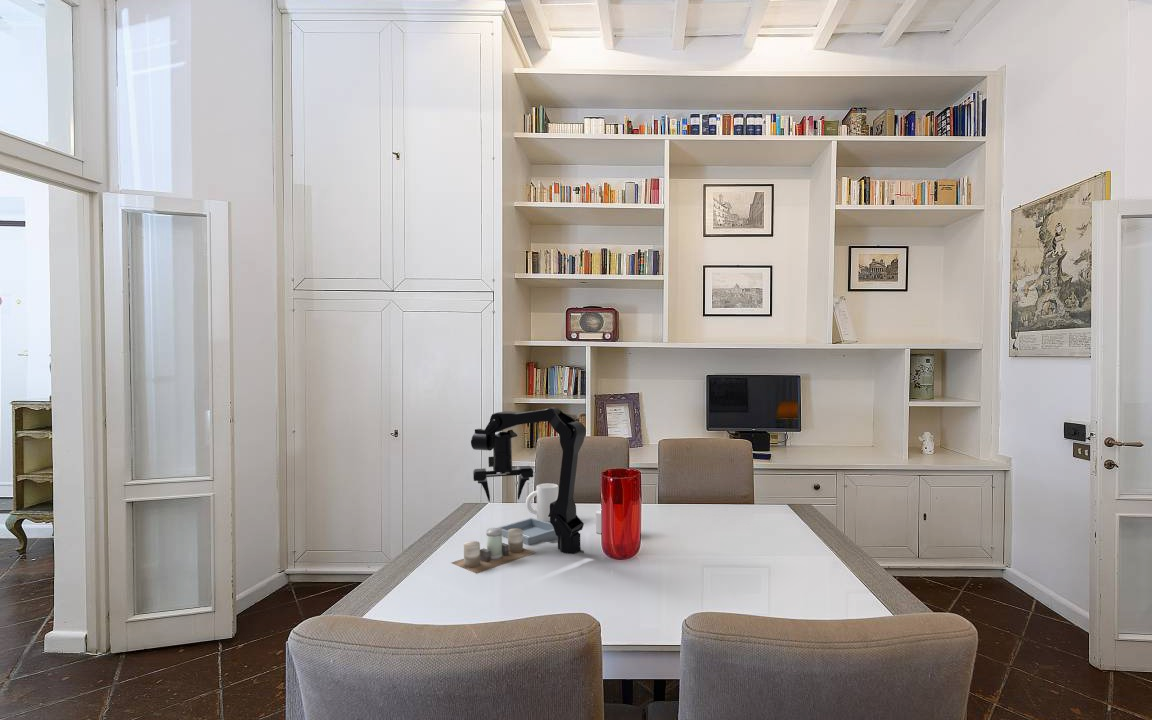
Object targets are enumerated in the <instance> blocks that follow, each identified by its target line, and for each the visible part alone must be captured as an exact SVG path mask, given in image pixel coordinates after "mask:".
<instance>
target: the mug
mask: <svg viewBox="0 0 1152 720" xmlns="http://www.w3.org/2000/svg"><path fill="white" fill-rule="evenodd" d="M558 491H559V484H556V483H552V482H551V483H547V482H546V483H539V484H537V485H536V490H534V491H532V492H531V493H529V495H528V496H527V497H526V500H525V506H526V509H527V510H528V511H529V512H530V513H531V514H533V515H535V516H536V519H538V520H541V521H545V522H549V523H550V517H548V515H549V513H550V503H552V502H554V501H556V500H557V498H558ZM535 497H536V509H535V508H534V507H533V506H532V500H533V498H535Z"/></svg>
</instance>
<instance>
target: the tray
mask: <svg viewBox="0 0 1152 720" xmlns="http://www.w3.org/2000/svg"><path fill="white" fill-rule="evenodd" d="M497 528H501V529H502V538H506V539H508V530H510V529H514V528H518V529H522V530H523V545H527V546H529V545H532V544H535V543H538V542H541V541H544V542H550V541H553V540H555V539H558V536H556V533H555V530H554V527H553V526H552V524H551V523H550V522H545V521H541V520H538V519H537V518H533V517H530V518H526V519H522V520H519V521H515V522H511V523H509V524H506V525H502V526H501V525H500V526H498V527H497Z"/></svg>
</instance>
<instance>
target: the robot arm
mask: <svg viewBox="0 0 1152 720" xmlns="http://www.w3.org/2000/svg"><path fill="white" fill-rule="evenodd" d="M542 422H547V423H549V424H550V426H551V428H552V429H553V430H554V432H556V433H557V434H558V435H559V444H560V447H561V450H562V454H561V455H562V457H561V465H560V475H559V482H558V498H557V500H556V501H554V502H552V503H550V513H549V515H548V517H550V522H549V523H551V524H552V526H553V527H554V530H555V533H556V536H558V538H557V549H558V550H559V551H560V552H561V553H563V554H568V555H569V554H572V555H574V554H578V553H583V554H585V550H582V549H581V548H582V547H581V533H580V532H581V531H582V530H583V528H584V524H585V523H584V522H583V521H582V520H581V519H580V517H579V516H578V515H577V506H576V502H575V500H574V495H575V494H574V493H575V486H576V485H575V484H576V476H577V466H578V459H579V458H578V457H579V452H580V450H581V447H582V446H583V443H584V440H585V437H586V434H587V429H586V426H585V425H584V423H583V422H581V421H578V420H577V419H575V418H574V417H572V416H570V415H568V414H566V413H565V412H563V411H562V410H561V409H560V408H558V407H555V406H553V407H548V408H545V409H544V408H543V409H538V410H530V411H523V412H522V411H521V412H517V411H512V410H511V411H508V410H507V411H506V410H505V411H498V412H494V413H492V414H491V416H490V418H489V422H488V424H487V425H486V426H485V428H484V429H482V428H477V429H474V433H473V435H472V436H471V439H470V446H471V448H472V449H473V450H475V451H492V450H493V456H488V457H487V458H488V468H492V469H493V470H487V469H486V468H475V469H473V472H472V473H473V477H472V478H473V481H474V482H477V483H478V484H481V486H482V489H483V490H484V492H485V495H486V498H487V501H488V502H491V496H490V495H491V494H490V489H489V483H488V482H489V481H488V478H493V477H495V478H496V477H507V476H508V477H510V476H518V483H517V484H518V485H517V493H516V494H517V500H520V498H521V495H522V492H523V489H524V487H525V484H526V482H527V481H530V478H534V469H533V467H532V466H531V465H521V466H519V467H518V468H516V469H515V468H514V469H513V455H512V454H513V452H512V448H513V447H512V439H513V438H516V437H518V434H517V433H516V432H515V431H514V430H513V428H515V427H517V426H520V425H525V424H534V423H542ZM511 428H512V429H511ZM504 430H507V431H504ZM496 433H497V434H496Z"/></svg>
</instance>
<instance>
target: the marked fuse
mask: <svg viewBox="0 0 1152 720" xmlns="http://www.w3.org/2000/svg"><path fill="white" fill-rule="evenodd" d="M502 543H503V537H502V529H501V528H498V527H491V528H490V527H489V528H487V529H486V549H487V550H490V560H499V559H501V558H502Z"/></svg>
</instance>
